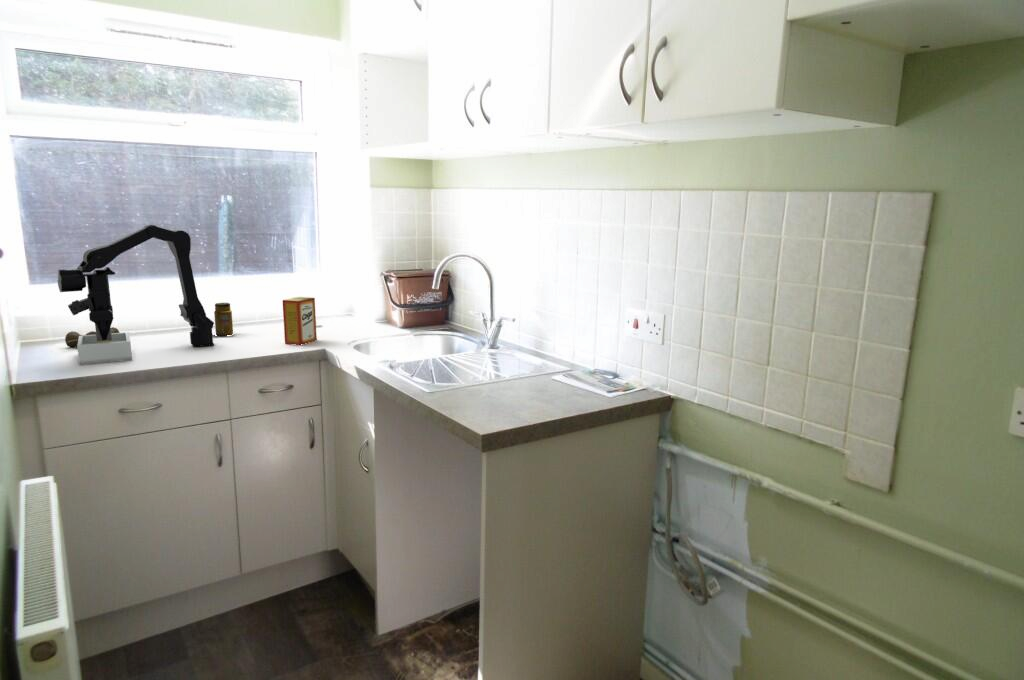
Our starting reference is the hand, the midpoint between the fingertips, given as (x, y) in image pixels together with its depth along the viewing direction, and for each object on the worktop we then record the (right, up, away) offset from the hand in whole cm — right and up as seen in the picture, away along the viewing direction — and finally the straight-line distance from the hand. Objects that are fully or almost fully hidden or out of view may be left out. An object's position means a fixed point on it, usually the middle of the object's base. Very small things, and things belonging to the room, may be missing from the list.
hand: (104, 338), depth 213 cm
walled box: (0, -6, +1) cm, 6 cm away
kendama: (-15, -3, +19) cm, 25 cm away
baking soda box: (+54, -1, +27) cm, 61 cm away
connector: (0, -3, +1) cm, 3 cm away
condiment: (+21, +1, +39) cm, 44 cm away
